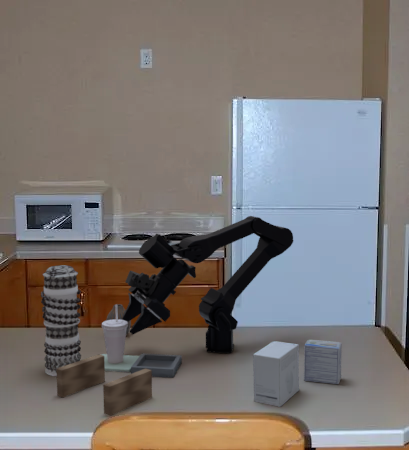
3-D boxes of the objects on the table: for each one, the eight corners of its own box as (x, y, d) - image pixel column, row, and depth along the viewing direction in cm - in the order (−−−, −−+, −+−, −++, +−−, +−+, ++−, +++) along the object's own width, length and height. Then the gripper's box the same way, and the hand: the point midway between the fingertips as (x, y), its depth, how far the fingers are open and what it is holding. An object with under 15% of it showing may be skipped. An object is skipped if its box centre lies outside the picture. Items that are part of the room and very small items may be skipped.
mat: (140, 358, 163) (140, 355, 163) (129, 372, 153) (129, 369, 153) (102, 356, 165) (101, 354, 164) (88, 369, 155) (88, 367, 155)
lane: (99, 379, 148) (98, 354, 148) (152, 397, 138) (151, 370, 137) (57, 395, 139) (56, 368, 138) (110, 415, 129) (109, 386, 128)
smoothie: (133, 362, 158) (132, 306, 157) (109, 367, 155) (108, 310, 153) (120, 355, 164) (120, 300, 162) (97, 359, 160) (96, 304, 158)
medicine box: (341, 378, 149) (342, 342, 148) (338, 385, 145) (339, 347, 144) (307, 374, 151) (307, 338, 150) (303, 381, 147) (304, 344, 146)
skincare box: (272, 385, 145) (273, 339, 144) (299, 390, 142) (300, 344, 140) (251, 401, 136) (252, 352, 135) (280, 407, 133) (280, 358, 131)
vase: (133, 332, 185) (132, 302, 184) (128, 339, 179) (127, 308, 177) (109, 331, 186) (109, 301, 185) (103, 338, 179) (102, 307, 178)
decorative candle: (57, 361, 161) (53, 262, 157) (90, 366, 157) (87, 264, 154) (35, 374, 152) (31, 269, 149) (70, 378, 149) (66, 272, 146)
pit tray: (181, 363, 159) (181, 355, 159) (173, 377, 149) (173, 369, 149) (142, 361, 161) (141, 353, 161) (131, 375, 151) (131, 367, 151)
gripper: (135, 253, 167) (94, 299, 165) (155, 266, 150) (110, 318, 147) (165, 280, 171) (125, 325, 169) (188, 295, 154) (145, 346, 151)
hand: (126, 328), depth 159 cm, fingers open, 9 cm apart
